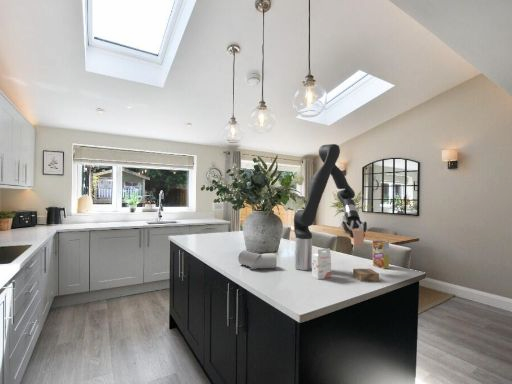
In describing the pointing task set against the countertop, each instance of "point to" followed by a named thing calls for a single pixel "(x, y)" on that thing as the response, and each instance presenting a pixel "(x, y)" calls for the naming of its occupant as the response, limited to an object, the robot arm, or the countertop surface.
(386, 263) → the candy box
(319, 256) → the ink cartridge box
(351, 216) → the robot arm
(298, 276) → the countertop surface
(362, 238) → the terracotta block
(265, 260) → the bent grey cylinder
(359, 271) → the walnut block
